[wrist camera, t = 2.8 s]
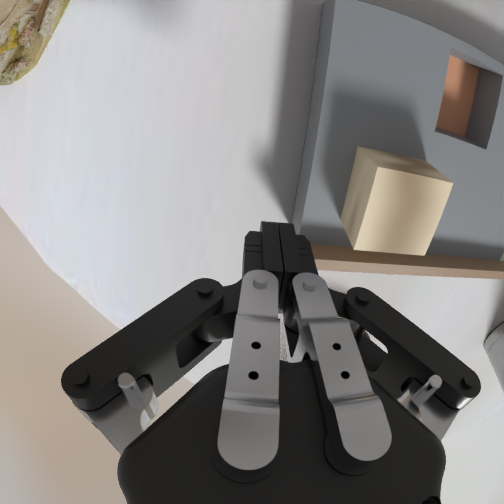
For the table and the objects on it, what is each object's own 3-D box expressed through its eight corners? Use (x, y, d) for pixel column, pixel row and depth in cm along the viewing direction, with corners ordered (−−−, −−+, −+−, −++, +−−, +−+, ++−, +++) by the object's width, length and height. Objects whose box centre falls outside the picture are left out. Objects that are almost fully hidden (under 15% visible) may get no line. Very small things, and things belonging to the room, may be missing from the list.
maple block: (426, 161, 20) (453, 183, 17) (405, 227, 23) (424, 255, 20) (357, 146, 20) (377, 166, 16) (340, 219, 23) (353, 249, 20)
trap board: (561, 117, 18) (600, 139, 12) (513, 251, 30) (540, 285, 24) (322, 3, 16) (349, -14, 11) (290, 227, 28) (299, 277, 23)
